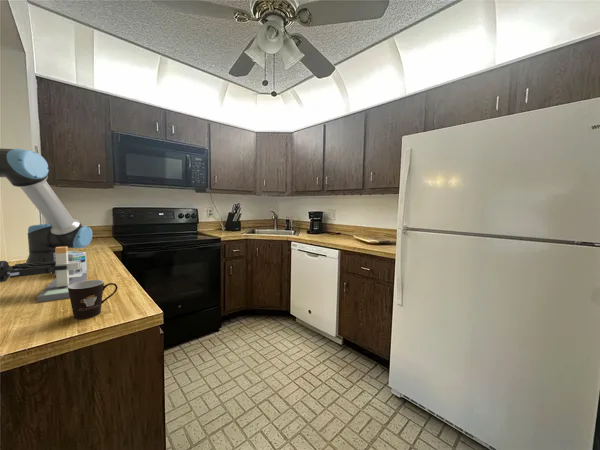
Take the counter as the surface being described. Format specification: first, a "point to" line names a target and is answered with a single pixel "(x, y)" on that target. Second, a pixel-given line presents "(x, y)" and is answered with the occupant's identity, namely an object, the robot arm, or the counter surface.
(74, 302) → the coffee mug
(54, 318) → the counter surface
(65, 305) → the counter surface
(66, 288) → the plate
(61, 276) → the breaker lever
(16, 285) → the counter surface
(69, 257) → the light bulb box
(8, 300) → the counter surface
